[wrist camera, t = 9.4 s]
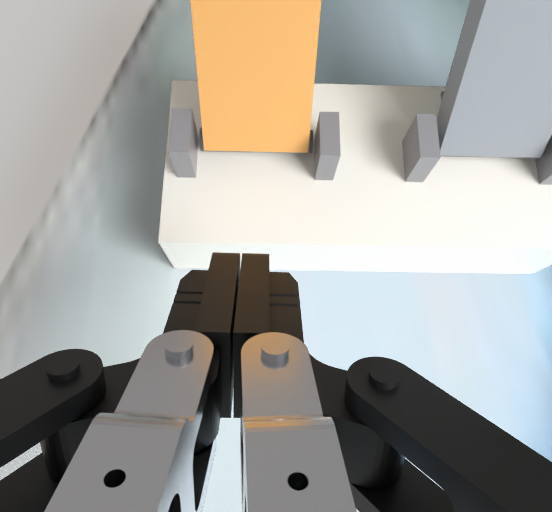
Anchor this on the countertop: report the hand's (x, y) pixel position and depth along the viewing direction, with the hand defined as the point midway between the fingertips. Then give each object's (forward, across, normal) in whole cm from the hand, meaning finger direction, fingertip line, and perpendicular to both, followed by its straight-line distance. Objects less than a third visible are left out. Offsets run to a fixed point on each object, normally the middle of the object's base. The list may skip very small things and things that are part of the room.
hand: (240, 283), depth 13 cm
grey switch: (+10, -10, -1) cm, 14 cm away
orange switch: (+10, 0, -1) cm, 10 cm away
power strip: (+13, -7, +2) cm, 15 cm away
